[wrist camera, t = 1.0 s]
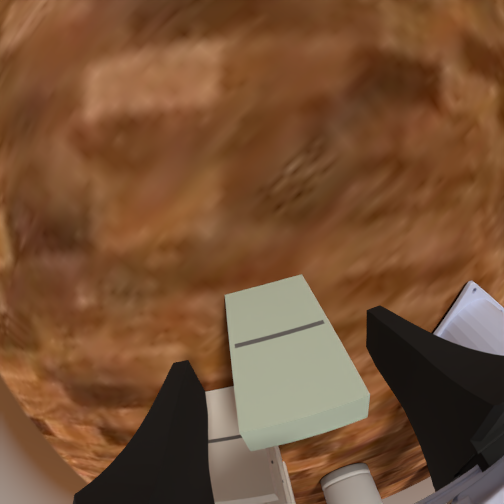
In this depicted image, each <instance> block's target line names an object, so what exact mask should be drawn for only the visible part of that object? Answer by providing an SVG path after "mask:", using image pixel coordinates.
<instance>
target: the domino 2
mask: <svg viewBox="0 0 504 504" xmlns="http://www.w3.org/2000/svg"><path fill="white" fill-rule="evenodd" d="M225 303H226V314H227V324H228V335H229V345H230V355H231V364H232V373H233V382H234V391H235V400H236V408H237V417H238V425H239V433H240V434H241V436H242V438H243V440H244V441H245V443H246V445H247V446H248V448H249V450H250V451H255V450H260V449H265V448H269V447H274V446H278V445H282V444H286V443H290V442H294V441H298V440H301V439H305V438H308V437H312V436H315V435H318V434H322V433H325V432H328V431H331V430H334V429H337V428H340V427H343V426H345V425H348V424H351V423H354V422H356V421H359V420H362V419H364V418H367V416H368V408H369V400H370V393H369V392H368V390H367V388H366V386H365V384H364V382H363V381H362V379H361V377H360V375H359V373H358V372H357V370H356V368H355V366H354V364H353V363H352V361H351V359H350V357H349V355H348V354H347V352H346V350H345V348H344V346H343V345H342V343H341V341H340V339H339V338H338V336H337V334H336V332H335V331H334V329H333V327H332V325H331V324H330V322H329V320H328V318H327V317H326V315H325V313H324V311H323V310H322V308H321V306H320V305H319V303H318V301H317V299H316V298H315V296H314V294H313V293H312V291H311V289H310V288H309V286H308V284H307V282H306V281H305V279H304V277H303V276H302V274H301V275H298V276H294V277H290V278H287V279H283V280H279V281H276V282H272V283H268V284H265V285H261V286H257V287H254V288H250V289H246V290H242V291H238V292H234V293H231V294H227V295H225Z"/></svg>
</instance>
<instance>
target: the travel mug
mask: <svg viewBox="0 0 504 504" xmlns="http://www.w3.org/2000/svg"><path fill="white" fill-rule="evenodd" d="M320 483H321V487H322V490H323V491H324V496H325V499H326V503H327V504H383V502H382V499H381V497H380V495H379V492H378V490H377V487H376V485H375V483H374V480H373V478H372V476H371V474H370V471H369V468H368V466H367V465H366V464H365V463H355V464H351V465H347V466H344V467H342V468H339V469H337V470H334V471H333V472H331V473H329V474H327V475H326V476H324V477H323V478H322V480H321V482H320Z"/></svg>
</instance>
